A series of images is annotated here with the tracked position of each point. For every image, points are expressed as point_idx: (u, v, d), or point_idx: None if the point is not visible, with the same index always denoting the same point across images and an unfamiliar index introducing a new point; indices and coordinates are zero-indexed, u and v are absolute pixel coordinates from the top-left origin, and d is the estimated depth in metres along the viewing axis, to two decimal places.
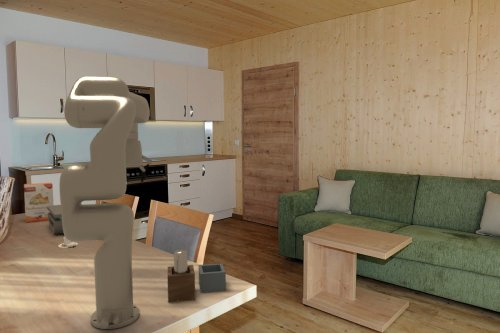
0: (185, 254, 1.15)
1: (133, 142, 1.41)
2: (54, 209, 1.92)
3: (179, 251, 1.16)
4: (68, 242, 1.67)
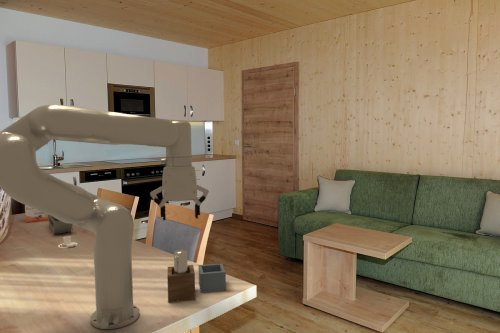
0: (185, 254, 1.15)
1: (187, 170, 1.12)
2: None
3: (179, 251, 1.16)
4: (68, 242, 1.67)
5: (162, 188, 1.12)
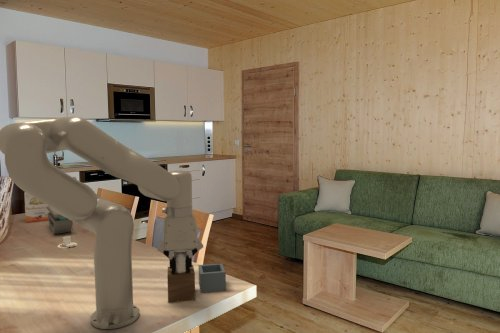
0: (185, 254, 1.15)
1: (187, 220, 1.13)
2: None
3: (179, 251, 1.16)
4: (67, 242, 1.67)
5: (163, 238, 1.13)
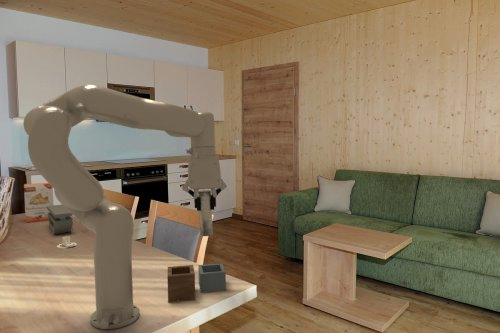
0: (209, 193, 1.19)
1: (211, 159, 1.17)
2: (54, 209, 1.92)
3: (203, 191, 1.20)
4: (67, 242, 1.67)
5: (188, 177, 1.17)
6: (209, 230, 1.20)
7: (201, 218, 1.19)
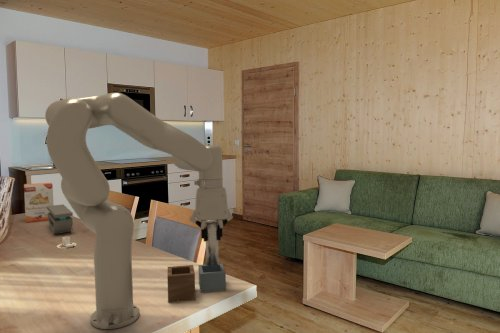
0: (216, 224, 1.22)
1: (218, 191, 1.19)
2: (54, 209, 1.92)
3: (210, 221, 1.23)
4: (67, 242, 1.67)
5: (195, 208, 1.19)
6: (215, 260, 1.22)
7: (208, 248, 1.22)
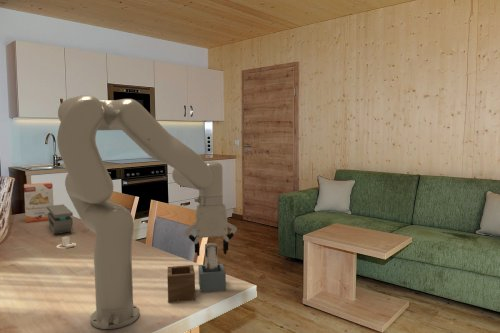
0: (216, 247, 1.22)
1: (218, 208, 1.20)
2: (54, 209, 1.91)
3: (210, 244, 1.23)
4: (66, 242, 1.67)
5: (195, 225, 1.20)
6: None
7: (207, 271, 1.22)
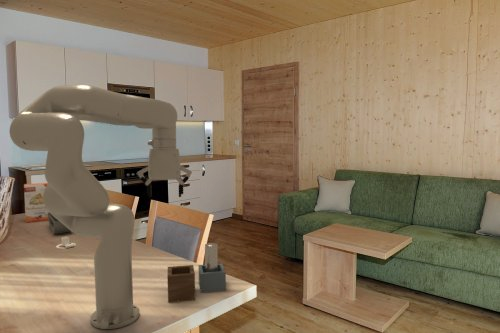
0: (216, 247, 1.22)
1: (170, 151, 1.21)
2: None
3: (210, 244, 1.23)
4: (66, 243, 1.66)
5: (148, 167, 1.22)
6: None
7: (207, 271, 1.22)
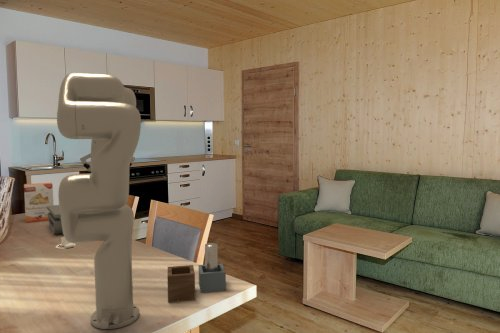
0: (216, 247, 1.22)
1: None
2: (54, 209, 1.92)
3: (210, 244, 1.23)
4: (66, 243, 1.66)
5: (90, 154, 1.25)
6: None
7: (207, 271, 1.22)
